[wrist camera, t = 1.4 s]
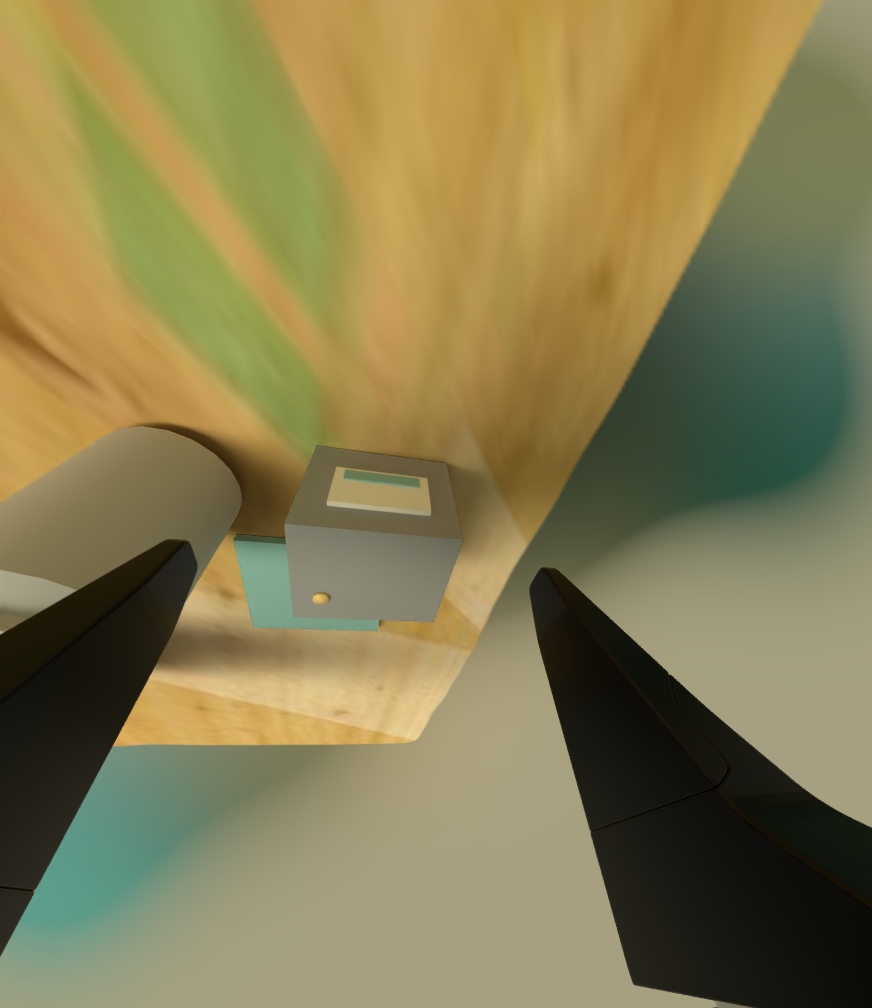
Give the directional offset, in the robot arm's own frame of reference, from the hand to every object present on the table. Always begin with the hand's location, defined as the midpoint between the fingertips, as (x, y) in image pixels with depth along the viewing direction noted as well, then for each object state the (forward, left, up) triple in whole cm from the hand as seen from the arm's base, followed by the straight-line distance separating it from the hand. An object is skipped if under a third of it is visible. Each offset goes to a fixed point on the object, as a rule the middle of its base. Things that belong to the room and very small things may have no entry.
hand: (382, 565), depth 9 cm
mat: (-17, +4, -12) cm, 21 cm away
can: (-7, +12, -12) cm, 19 cm away
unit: (-7, 0, -12) cm, 14 cm away
